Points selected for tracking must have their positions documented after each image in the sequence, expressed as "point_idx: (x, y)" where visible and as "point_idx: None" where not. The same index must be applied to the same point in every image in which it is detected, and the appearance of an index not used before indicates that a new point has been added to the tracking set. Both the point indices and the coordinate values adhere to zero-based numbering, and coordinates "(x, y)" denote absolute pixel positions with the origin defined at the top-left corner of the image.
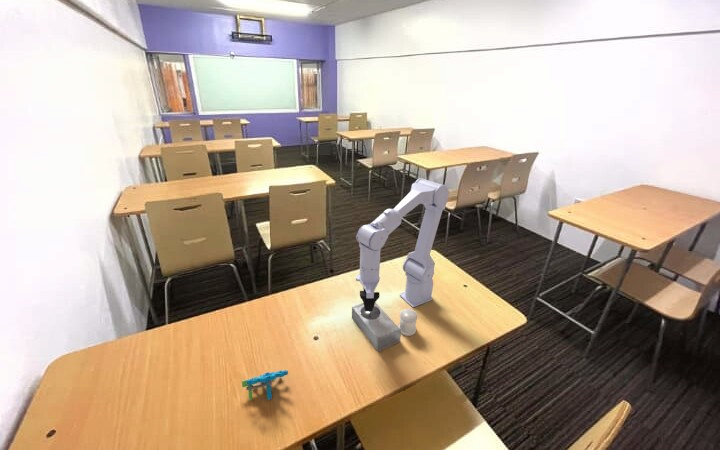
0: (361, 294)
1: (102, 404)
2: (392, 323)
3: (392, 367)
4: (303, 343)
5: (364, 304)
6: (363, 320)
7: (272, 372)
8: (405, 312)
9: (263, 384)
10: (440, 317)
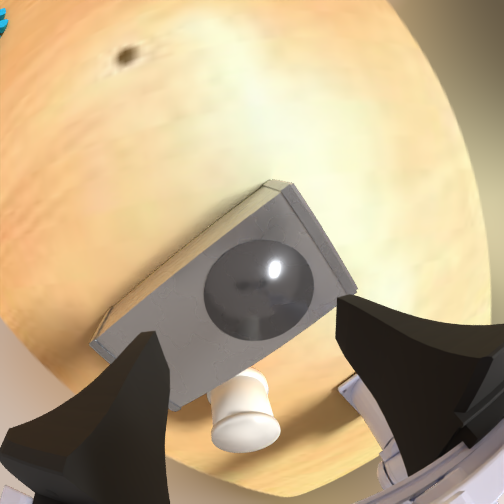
0: (14, 468)
1: None
2: (200, 388)
3: (73, 352)
4: (100, 29)
5: (101, 378)
6: (187, 267)
7: (6, 23)
8: (258, 429)
9: None
10: (296, 438)
